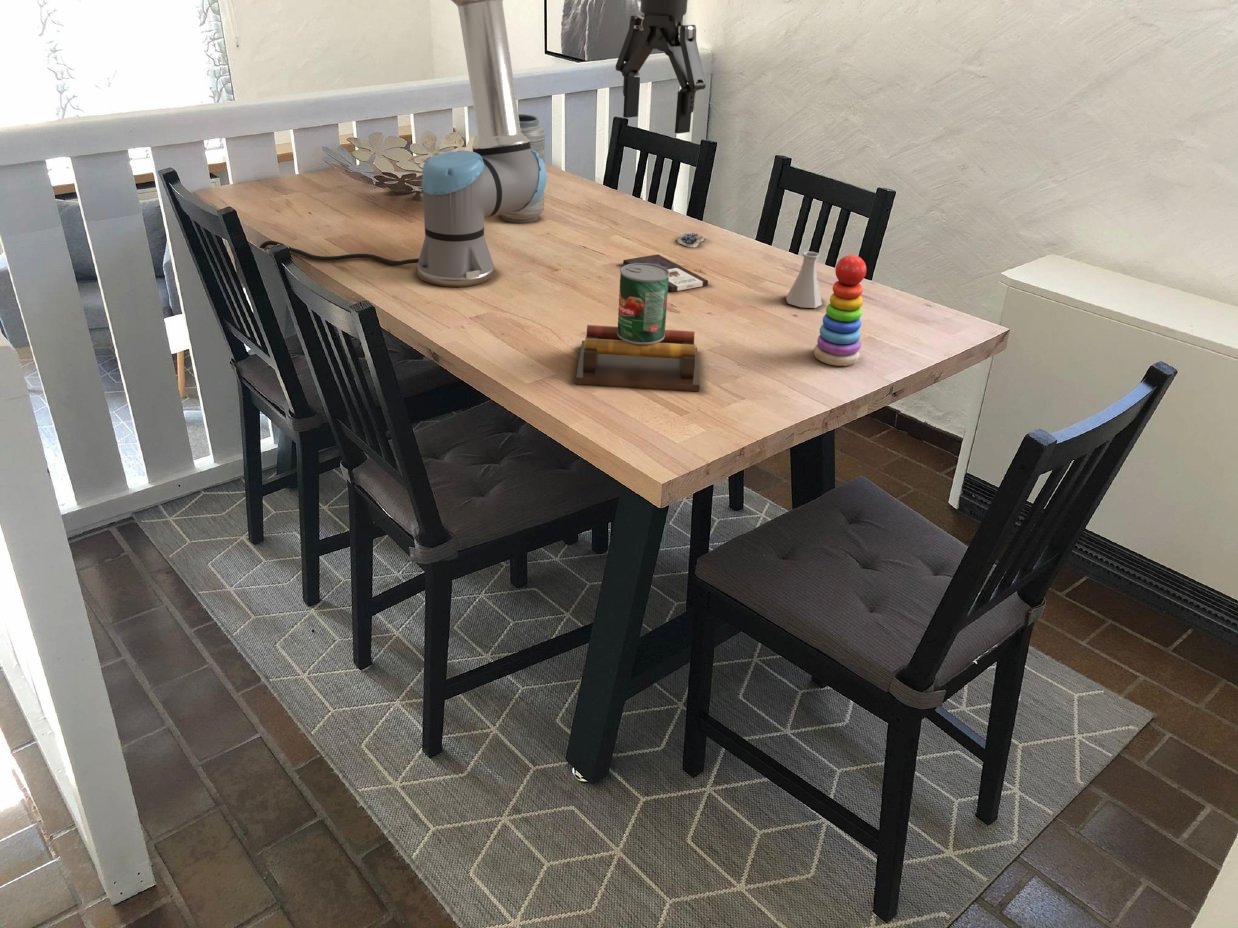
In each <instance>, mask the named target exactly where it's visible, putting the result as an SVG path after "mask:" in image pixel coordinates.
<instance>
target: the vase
mask: <svg viewBox="0 0 1238 928" xmlns="http://www.w3.org/2000/svg"><path fill="white" fill-rule="evenodd" d="M518 115H519V122H520V129H521V132H522V134H523V135H524V136H526V137H527V138H528V139H529V140H530V146H531V149H532V150H535V151H536V152H537V153H538V154H539V155H540V159H542V160H543V162H544V164H545V165H546V162H545V161H546V131H545V129H544V127H543V126H542V124H540V119H539V117H537V116H535V115H532V114H523V113H518ZM544 210H545V192H544V193H543V195H542V196H541V197H540V200H539V201H538V202H537V203H536V204H534V205H533V206H531V207H528V208H524V209H523V210H521V211H512V212H508V213H504V214H500V217H501V219H502V220H504V221H505V222H510V223H516V224H525V223H527V224H528V223H532V222H535V221H537V220H538V218H539V216H541V215H542V213H543V212H544Z"/></svg>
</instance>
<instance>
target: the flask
mask: <svg viewBox="0 0 1238 928" xmlns="http://www.w3.org/2000/svg"><path fill="white" fill-rule="evenodd" d="M802 257H803V260H802V265H801V267H800V270H799V273H798V275H797V277H796V279H795V280H794V283H793V284H792V286H791V287H790V289H789V291H788V293H787V295H786V297H785V299H786V302H787V304H789V305H792V306H794V307H798V308H809V309H816V308H818V307H820V306H821V305H823V302H822V297H821V293H820V286H819V280H818V274H817V273H818V272H817V263H818V259H819V258H820V254H819V252H815V251H807V250H806V251H804V252H802Z"/></svg>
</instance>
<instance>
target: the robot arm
mask: <svg viewBox="0 0 1238 928" xmlns="http://www.w3.org/2000/svg"><path fill="white" fill-rule="evenodd" d="M450 1H451V2H452V3H453V4H455V6H456V7H457V11H458V17H459V22H460V28H461V29H460V30H461V36H462V42H463V48H464V49H463V50H464V54H465V61H466V67H467V73H468V74H467V75H468V80H469V87H470V93H471V99H472V100H471V101H472V105H473V112H474V119H475V125H476V129H477V140H476V141H475V142H474V144H473V145H472V146H471V147H472V148H471V149H472V151H471V150H456V151H453V150H450V151H444V152H440V153H438V154H435V155H433V156H431V157H429V158H427V159H426V161H424V163H423V166H422V175H421V176H422V177H421V179H422V180H421V189H422V198H423V199H422V200H423V201H422V202H423V220H424V224H423V225H424V240H423V243H422V247H421V250H420V254H419V258H418V257H417V258H410V259H409V258H407V259H403V260H393V259H388V258H385V257H382V256H379V255H376V254H372V253H371V254H370V253H350V254H341V255H332V256H331V255H330V256H324V255H323V256H322V255H317V254H316V255H315V254H312V253H309V252H306V251H304V250H301V249H298V248H294V247H291V246H288V245H287V246H288V247H289V250H290V251H291V252H290V251H289V252H290V253H294V254H297V255H299V256H303V257H304V258H307V259H310V260H314V261H322V262H333V261H335V262H336V261H344V260H351V259H370V260H374V261H378V262H380V263H384V264H386V265H391V266H405V265H411V264H416V266H417V277H419V279H420V280H422V281H424V282H426V283H428V284H432V285H434V286H435V285H436V286H442V287H449V288H450V287H451V288H452V287H458V288H459V287H471V286H476V285H480V284H483V283H486V282H488V281H490V280H491V279H492V278H493V277H494V275H495V264H494V261H493V258H492V255H491V253H490V249H489V246H488V243H487V241H486V238H485V219H487V218H491V217H494V216H499V215H500V214H504V213H508V212H512V211H521V210H523V209H524V208H528V207H531V206H533V205H534V204H536V203H537V202H538V201H539V200H540V197H541V196H542V195H543V193H544V194H545V190H546V187H547V178H548V177H547V168H546V163H545V164H544V162H543V160H542V159H540V155H539V154H538V153H537V152H536V151H535V150H532V149H531V146H530V140H529V139H528V138H527V137H526V136H524V135H523V134H522V132H521V129H520V122H519V115H518V114H519V109H518V102H517V96H516V88H515V81H514V74H513V66H512V59H511V54H510V45H509V39H508V31H507V24H506V17H505V10H504V4H503V3H504V0H450ZM639 6H640V12H641V13H642V14H636V15H635V14H634V15H631V16H630V17H629V26H628V31H627V34H626V36H625V38H624V42H623V44H622V47H621V50H620V53H619V55H618V58H617V61H616V63H615V71H616V72H620V73H621V75H622V77H623V82H622V83H623V84H622V85H623V86H622V94H623V95H622V96H623V113H622V114H623V115H622V116H623V118H625V119H628V118H629V119H630V118H636V117H639V104H640V103H639V99H640V85H641V77H640V75H641V74H640V73H639V71H640V70H641V69H642V67H643V66H644V64H645V62H646V61H647V59H648V58H649V57H650V55H651V54H652V52H653V50H658V51H660V52H664V54H665V55H666V56H667V57H668V59H669V61H670V63H671V66H672V69H673V71H674V73H675V76H676V79H677V82H678V84H679V86H680V89H679V90H678V91H677V99H676V112H675V124H674V133H675V134H685V133H686V134H687V133H691V123H692V113H693V112H694V109H695V99H696V93H697V92H698V91H701V90H705V89H706V84H707V83H706V80H705V75H704V74H705V73H704V70H703V65H702V61H701V56H700V51H699V47H698V43H697V26H696V24H683V17H684V16H685V15H686V14H687V11H688V0H640V5H639ZM500 216H501V215H500ZM277 244H283V243H282V242H279V241H277V240H267V241H264V242H262V243H261V244H260V245H259V249H265V248H266V247H268V246H275V245H277Z"/></svg>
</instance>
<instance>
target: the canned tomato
mask: <svg viewBox="0 0 1238 928" xmlns="http://www.w3.org/2000/svg"><path fill="white" fill-rule="evenodd" d="M619 272H620V274H619V275H620V276H619V277H620V278H619V293H618V312H617V315H618V316H617V327H618V331H617V335H618V337H619V338H620V339H622V340H624V341H626V342H629V343H633V344H641V345H648V344H655V343H658V342H660V341H662V340H663V339H664V337H665V330H666V322H667V321H666V319H667V308H668V295H669V290H668V284H669V271H668V270H667V269H666V268H664V267H662V266H659V265H655V264H649V263H633V264H628V265H623V266H622V267H621V268H620V269H619Z"/></svg>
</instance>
